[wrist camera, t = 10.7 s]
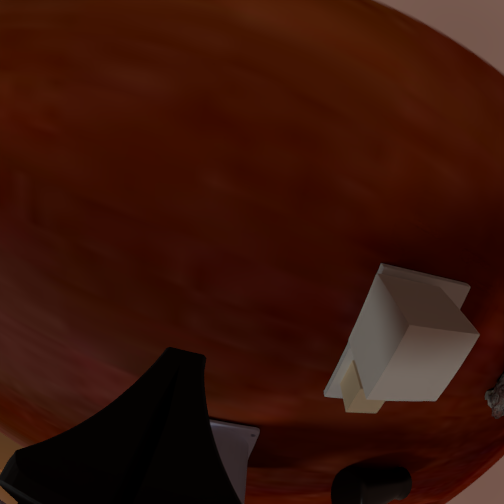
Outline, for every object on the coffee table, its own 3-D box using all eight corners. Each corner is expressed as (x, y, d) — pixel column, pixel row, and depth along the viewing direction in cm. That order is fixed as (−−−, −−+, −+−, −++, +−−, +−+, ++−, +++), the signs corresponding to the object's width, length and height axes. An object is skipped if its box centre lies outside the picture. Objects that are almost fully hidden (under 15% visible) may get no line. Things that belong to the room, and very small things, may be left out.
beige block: (409, 347, 20) (435, 400, 15) (348, 339, 20) (366, 399, 15) (440, 287, 18) (480, 334, 13) (376, 272, 18) (409, 325, 13)
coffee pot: (354, 458, 28) (409, 448, 29) (295, 496, 37) (342, 491, 38) (368, 514, 21) (424, 497, 23) (300, 536, 30) (349, 528, 32)
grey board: (402, 396, 24) (413, 425, 20) (323, 391, 24) (328, 424, 20) (467, 283, 19) (491, 307, 16) (380, 263, 19) (400, 289, 16)
